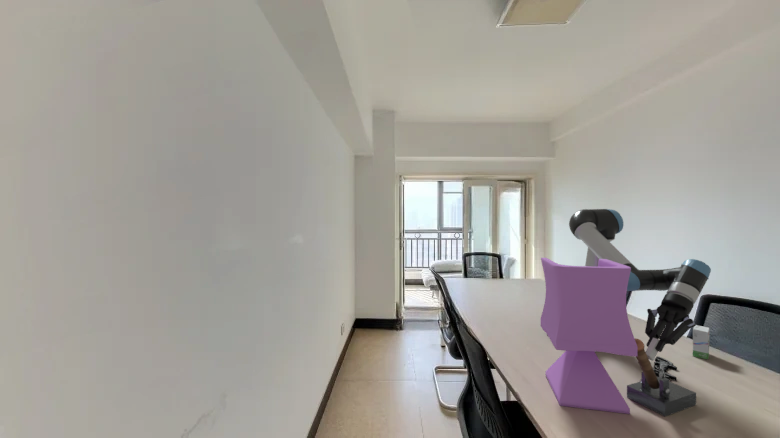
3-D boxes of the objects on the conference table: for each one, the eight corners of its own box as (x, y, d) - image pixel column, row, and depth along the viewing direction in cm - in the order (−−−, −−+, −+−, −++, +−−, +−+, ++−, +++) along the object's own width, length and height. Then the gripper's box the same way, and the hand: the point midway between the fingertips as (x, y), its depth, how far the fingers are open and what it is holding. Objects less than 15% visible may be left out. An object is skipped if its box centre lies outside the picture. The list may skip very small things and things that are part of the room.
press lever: (664, 383, 102) (644, 338, 99) (658, 392, 101) (637, 346, 97) (650, 377, 106) (630, 333, 102) (644, 386, 105) (623, 342, 101)
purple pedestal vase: (606, 380, 118) (606, 258, 118) (637, 417, 96) (637, 268, 96) (540, 373, 123) (540, 257, 123) (556, 407, 102) (556, 266, 101)
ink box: (708, 360, 134) (708, 332, 134) (692, 356, 138) (692, 329, 138) (709, 353, 140) (709, 327, 140) (693, 350, 144) (694, 324, 143)
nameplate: (645, 353, 138) (676, 360, 131) (645, 357, 138) (676, 364, 131) (641, 378, 117) (678, 388, 111) (641, 382, 117) (678, 392, 111)
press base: (696, 405, 103) (696, 377, 103) (664, 416, 97) (665, 387, 97) (657, 387, 113) (657, 362, 113) (626, 397, 107) (626, 370, 107)
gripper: (709, 311, 103) (678, 373, 97) (662, 301, 115) (632, 355, 109) (699, 297, 101) (667, 359, 95) (652, 288, 113) (621, 343, 107)
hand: (648, 357), depth 102 cm, fingers closed
